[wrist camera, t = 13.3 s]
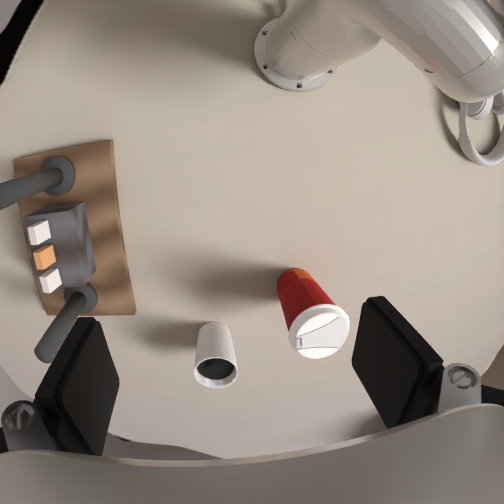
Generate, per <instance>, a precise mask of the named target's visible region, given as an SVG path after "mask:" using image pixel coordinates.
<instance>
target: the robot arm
mask: <svg viewBox="0 0 504 504" xmlns="http://www.w3.org/2000/svg"><path fill="white" fill-rule="evenodd" d="M263 33H264V34H266V35H263ZM381 38H383V39H384V40H385V41H386V42H388V43H389V44H390V45H392V46H394V47H395V48H396V49H397V50H398V51H399V52H400V53H402V54H403V55H404V56H405V57H406V58H407V59H408V60H409V61H411V62H412V63H413V64H414V65H415V66H416V67H417V68H418V69H419V70H420V71H421V72H422V73H423V74H424V75H425V76H426V77H428V78H429V79H430V80H431V81H432V82H433V83H434V84H435V85H436V86H437V87H438V88H439V89H440V90H441V91H442V92H444V93H445V94H446V95H447V96H449V97H450V98H452V99H454V100H457V101H460V102H464V103H475V102H480V101H483V100H486V99H489V98H491V97H493V96H495V95H496V94H498V93H500V92H501V91H503V90H504V0H491V1H490V2H489V3H488V1H487V0H286V10H285V11H284V13H283V15H282V16H281V17H278V18H276V19H273V20H271V21H270V22H268V23H267V24H266V25H265V26H264V27H263V28H262V29H261V30H260V32H259V33H258V35H257V37H256V40H255V44H254V56H255V61H256V63H257V65H258V67H259V69H260V71H261V72H262V73H263V75H264V76H265V77H266V78H267V79H268V80H269V81H271V82H272V83H274V84H275V85H277V86H279V87H281V88H283V89H286V90H290V91H296V92H304V91H310V90H314V89H317V88H319V87H321V86H323V85H324V84H326V83H327V82H328V81H329V80H330V79H331V78H332V77H333V75H334V74H335V72H336V69H337V66H339V65H341V64H344V63H346V62H348V61H350V60H352V59H354V58H356V57H358V56H361V55H363V54H365V53H367V52H369V51H370V50H372V49H373V48H374V47H375V46H376V45H377V44H378V43H379V42H380V40H381ZM264 66H265V67H266V69H264V68H263V67H264ZM327 71H329V73H328V72H327ZM297 85H299V88H297ZM442 364H443V359H442V358H441V357H440V356H439V355H438V354H437V353H436V352H435V350H434V349H433V348H432V347H431V346H430V345H429V344H428V343H427V342H426V341H425V339H424V338H423V337H422V336H421V335H420V334H419V333H418V332H417V331H416V330H415V329H414V328H413V326H412V325H411V324H410V323H409V322H408V321H407V320H406V319H405V318H404V317H403V316H402V315H401V314H400V313H399V312H398V311H397V310H396V308H395V307H394V306H393V305H392V304H391V303H390V302H389V301H388V300H387V299H386V298H385V297H384V296H377V297H370V298H368V299H367V300H366V302H364V303H363V305H362V309H361V315H360V321H359V326H358V331H357V336H356V341H355V346H354V351H353V355H352V366H353V368H354V370H355V372H356V374H357V375H358V377H359V379H360V381H361V382H362V384H363V386H364V388H365V389H366V391H367V393H368V395H369V396H370V398H371V400H372V402H373V404H374V405H375V407H376V409H377V411H378V413H379V414H380V416H381V418H382V420H383V422H384V423H385V425H386V427H387V429H386V430H383V431H380V432H376V433H373V434H369V435H366V436H362V437H358V438H355V439H351V440H347V441H343V442H338V443H334V444H329V445H325V446H320V447H315V448H310V449H304V450H299V451H293V452H286V453H280V454H273V455H265V456H256V457H247V458H235V459H221V460H199V461H162V460H160V461H159V460H139V459H125V458H113V457H103V456H102V453H103V448H104V444H105V440H106V435H107V431H108V427H109V423H110V419H111V415H112V411H113V407H114V404H115V400H116V396H117V392H118V389H119V377H118V374H117V371H116V369H115V366H114V363H113V360H112V357H111V354H110V352H109V349H108V346H107V342H106V339H105V336H104V333H103V330H102V327H101V324H100V322H99V321H96V320H95V318H94V317H79V318H78V319H77V320H76V322H75V323H74V325H73V327H72V328H71V330H70V332H69V333H68V335H67V337H66V339H65V340H64V342H63V344H62V345H61V347H60V349H59V351H58V352H57V354H56V356H55V358H54V360H53V361H52V363H51V365H50V367H49V369H48V371H47V372H46V374H45V376H44V378H43V380H42V382H41V384H40V386H39V388H38V390H37V392H36V394H35V399H34V401H33V403H32V402H30V401H27V400H20V401H16V402H14V403H12V404H11V405H9V406H8V407H7V408H6V409H5V410H4V412H3V414H2V417H1V424H2V427H1V428H0V504H504V390H500V389H496V388H492V387H488V386H484V385H481V379H480V376H479V374H478V372H477V371H476V370H475V369H474V368H472V367H470V366H469V365H466V364H461V363H454V364H451V365H448V366H447V367H446V368H445V367H444V366H443V365H442Z"/></svg>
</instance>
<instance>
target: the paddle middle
mask: <svg viewBox="0 0 504 504" xmlns="http://www.w3.org/2000/svg"><path fill="white" fill-rule="evenodd" d="M33 255H34V259H35V263H36V267H37V269H38V270H44V269H46V268H47V267H49V266H50V265H51V264H53V263H54V262H56V258H55V254H54V249H53V245H45V246H43V247H42V248H40V249H38V250H37V251H35V252H33Z"/></svg>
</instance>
